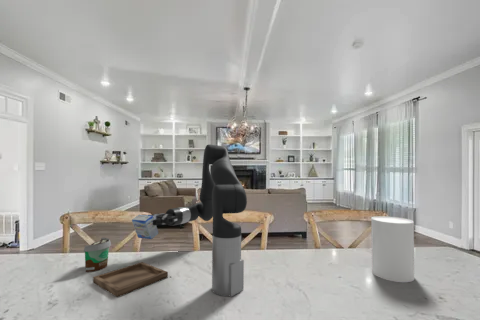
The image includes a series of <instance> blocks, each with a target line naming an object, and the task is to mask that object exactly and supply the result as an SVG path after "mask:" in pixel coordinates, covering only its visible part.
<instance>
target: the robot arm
mask: <svg viewBox="0 0 480 320" xmlns="http://www.w3.org/2000/svg"><path fill="white" fill-rule="evenodd" d="M202 158H203V159H202V173H201V187H200V193H199V201H200V202H199V201H198V202H196V203H194V204H193V205H190V206H181V207H174V208H173V207H172V208H169V209H168V210H166V211H165V213H162V212H161V213H158V212H157V213H154V214H149V215H150V216H153V218H154V220H153V225H156V226H158V225H166V226H167V225H168V226H171V227H172V226H177V225H178V226H179V225H182V224H186V223H189V222H193V221H196V220H198V219H199V218H200V219H201V220H202V221H205V222H208V221H211V219H212V244H211V246H212V247H211V248H212V251H211V254H212V255H211V257H212V259H211V262H212V263H211V267H212V268H211V291H212V292H213V293H214V294H215V295H218V296H225V297H234V296H235V295H237V294H239V293H240V292H242V291H243V290H244V283H245V282H244V277H245V276H244V272H245V269H244V268H245V267H244V263H245V261H244V259H243V258H242V227H241V225H240V224H238V223H236V222H232V221H230V220H227V219H225V217H224V214H227V215H228V214H239V213H243V212H244V211H245V210H246V207H247V205H248V199H247V198H248V197H247V192H246V190H245V188H244V186H243V183H241V181H240V180H239V179H238V177H237V175H236V172H235V169H234V166H233V164H232V163H231V160H230V154H229V151H228V149H227V147H226V146H223V145H217V144H216V145H215V144H207V145H206V146H205V148H204V152H203V157H202ZM210 165H211V168H210Z"/></svg>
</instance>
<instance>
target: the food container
mask: <svg viewBox="0 0 480 320" xmlns="http://www.w3.org/2000/svg"><path fill="white" fill-rule="evenodd" d="M111 242H112V241H111V240H110V238H108V237H100V240H98V241H95V242H92V243H91V244H90V245H84V247H83V252H84V265H85V273H92V272H93V273H94V272H98V271H102V270H104V269H106V268H107V267H108V261H109V252H110V251H109V250H110V247H111V246H112V243H111Z"/></svg>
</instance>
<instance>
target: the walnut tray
mask: <svg viewBox="0 0 480 320" xmlns="http://www.w3.org/2000/svg"><path fill="white" fill-rule="evenodd" d="M168 273H169V272H168V271H167V270H164V269H161V268H158V267H157V266H153V265H151V264H148V263H146V262H144V261H141V262H138V263H134V264H131V265H127V266H124V267H120V268H118V269H115V270H112V271H108V272H105V273H101V274H98V275H95V276H93V277H92V278H93V279H92V283H93V284H94V285H95V286H97V287H99V288H101V289H102V290H105V291H106V292H108V293H109V294H111V295H112V296H115V297H116V298H119V297H122V296H125V295H127V294H130V293H133V292H135V291H137V290H140V289H143V288H145V287H148V286H150V285H152V284H155V283H158V282H160V281H162V280H165V279H167V278H168V277H169V274H168Z"/></svg>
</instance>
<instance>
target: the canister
mask: <svg viewBox="0 0 480 320" xmlns="http://www.w3.org/2000/svg"><path fill="white" fill-rule="evenodd" d="M370 218H371V220H370V222H371V225H370V226H371V273H372V274H373V275H374V276H376V277H378V278H381V279H383V280H387V281H389V282H390V281H391V282H396V283H409V282H413V281H415V232H414V231H415V230H414V228H415V226H414V225H415V223H414V220H412V219H410V218H403V217H397V216H388V215H387V216H386V215H385V216H383V215H380V216H379V215H377V216H372V217H370Z"/></svg>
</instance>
